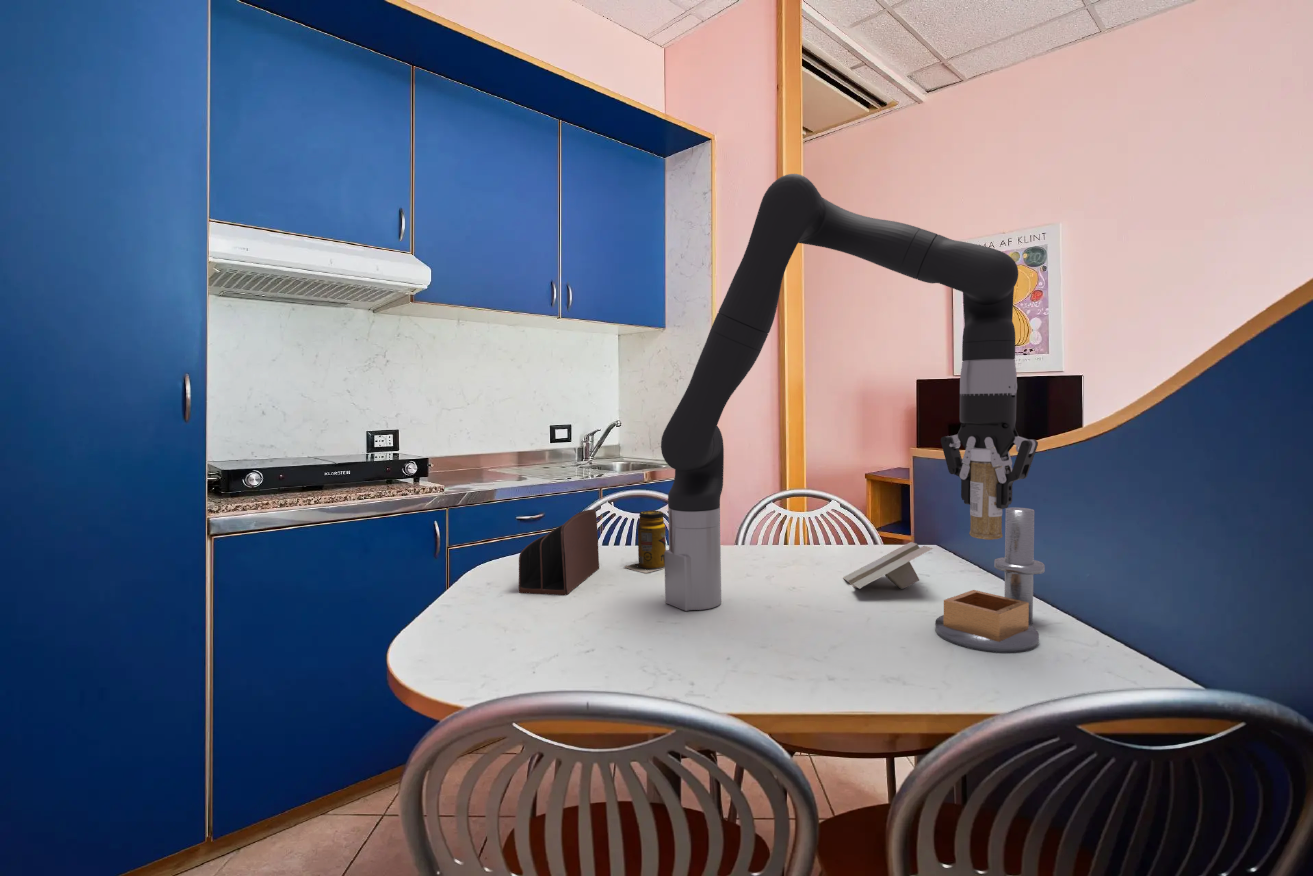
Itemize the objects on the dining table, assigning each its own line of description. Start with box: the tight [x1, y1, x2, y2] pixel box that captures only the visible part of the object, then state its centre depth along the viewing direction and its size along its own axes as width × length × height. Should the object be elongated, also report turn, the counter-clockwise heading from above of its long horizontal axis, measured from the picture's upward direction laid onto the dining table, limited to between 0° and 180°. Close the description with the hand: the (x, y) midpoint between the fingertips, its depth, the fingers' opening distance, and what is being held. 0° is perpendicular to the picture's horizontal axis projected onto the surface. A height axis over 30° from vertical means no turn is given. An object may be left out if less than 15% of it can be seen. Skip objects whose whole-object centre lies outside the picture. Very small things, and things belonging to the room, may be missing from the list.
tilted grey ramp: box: [842, 541, 934, 590], centre depth 125 cm, size 16×9×15 cm
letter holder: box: [518, 509, 600, 596], centre depth 136 cm, size 10×20×14 cm, turn 167°
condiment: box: [623, 510, 667, 574], centre depth 145 cm, size 7×8×12 cm
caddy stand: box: [934, 507, 1046, 654], centre depth 102 cm, size 20×14×18 cm
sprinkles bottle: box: [969, 448, 1004, 541], centre depth 99 cm, size 5×5×13 cm
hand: (986, 505), depth 100 cm, fingers closed on sprinkles bottle, 4 cm apart
